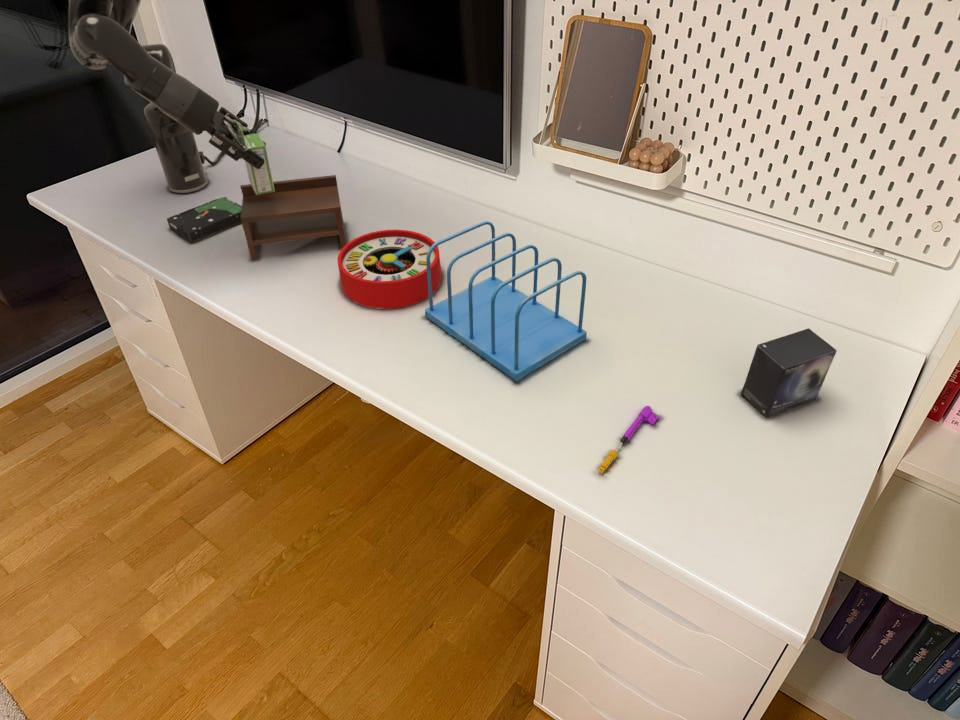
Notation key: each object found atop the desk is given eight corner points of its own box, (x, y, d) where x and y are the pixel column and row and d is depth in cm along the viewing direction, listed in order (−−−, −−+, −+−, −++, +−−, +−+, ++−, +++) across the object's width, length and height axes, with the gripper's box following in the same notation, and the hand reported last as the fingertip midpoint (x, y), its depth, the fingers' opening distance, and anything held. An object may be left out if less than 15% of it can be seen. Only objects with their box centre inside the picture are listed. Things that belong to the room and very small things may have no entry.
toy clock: (316, 257, 136) (393, 219, 147) (321, 282, 139) (395, 243, 151) (383, 296, 125) (460, 252, 136) (386, 321, 129) (461, 277, 140)
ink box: (276, 192, 140) (262, 127, 131) (256, 196, 139) (240, 130, 130) (268, 178, 145) (254, 115, 136) (249, 182, 144) (233, 118, 135)
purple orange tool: (644, 407, 110) (595, 471, 100) (647, 403, 109) (597, 467, 99) (659, 417, 109) (611, 482, 99) (661, 412, 108) (613, 478, 99)
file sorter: (586, 340, 124) (594, 267, 114) (516, 384, 115) (517, 309, 105) (493, 282, 138) (493, 213, 128) (424, 317, 130) (418, 246, 120)
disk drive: (192, 245, 152) (250, 219, 160) (188, 233, 150) (247, 208, 158) (169, 229, 158) (226, 205, 166) (165, 218, 156) (223, 194, 164)
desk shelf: (253, 234, 155) (240, 185, 147) (343, 224, 158) (335, 174, 150) (251, 260, 146) (238, 209, 139) (346, 248, 149) (338, 197, 142)
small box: (766, 420, 108) (784, 369, 101) (738, 394, 112) (754, 343, 105) (819, 400, 111) (839, 350, 104) (789, 376, 115) (808, 326, 109)
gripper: (192, 101, 122) (273, 157, 131) (200, 75, 133) (274, 128, 142) (170, 133, 125) (250, 186, 134) (179, 105, 135) (253, 155, 145)
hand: (262, 156), depth 138 cm, fingers closed on ink box, 7 cm apart
